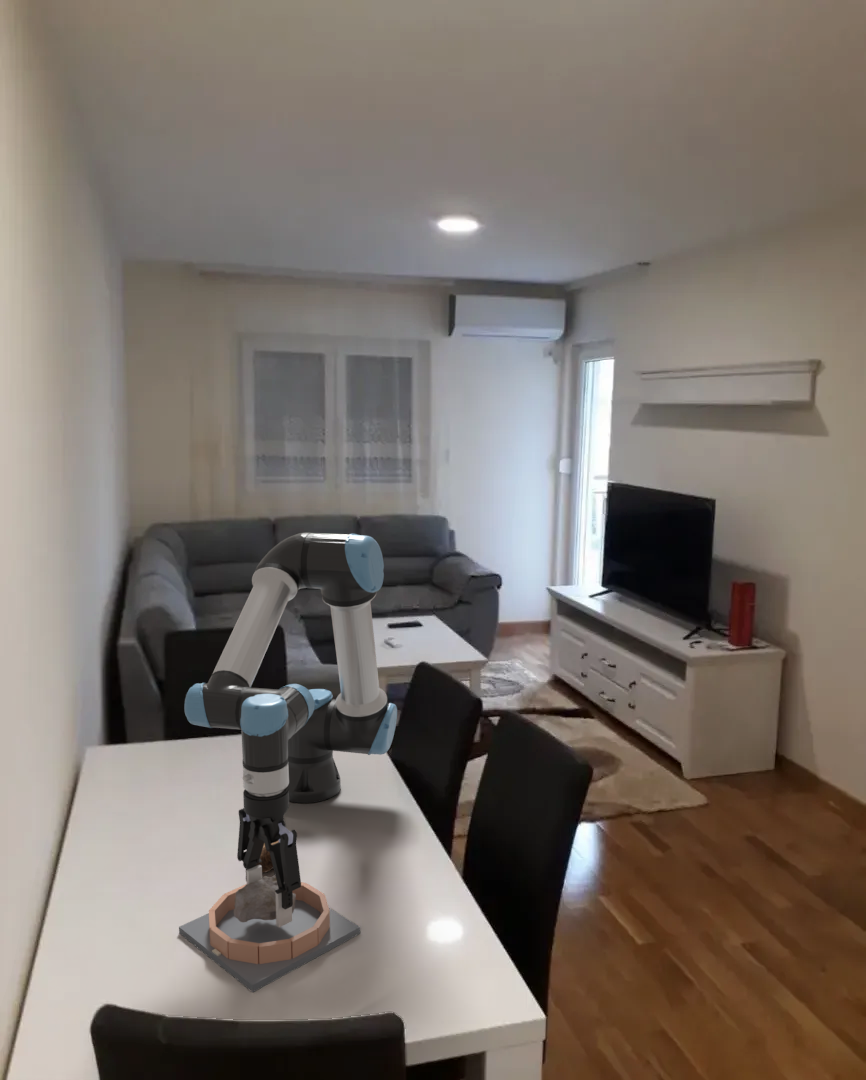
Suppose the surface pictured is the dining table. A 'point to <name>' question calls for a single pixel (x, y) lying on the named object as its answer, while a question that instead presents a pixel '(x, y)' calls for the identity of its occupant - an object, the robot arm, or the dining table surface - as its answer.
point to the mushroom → (266, 859)
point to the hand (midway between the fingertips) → (269, 912)
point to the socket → (268, 937)
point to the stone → (258, 900)
